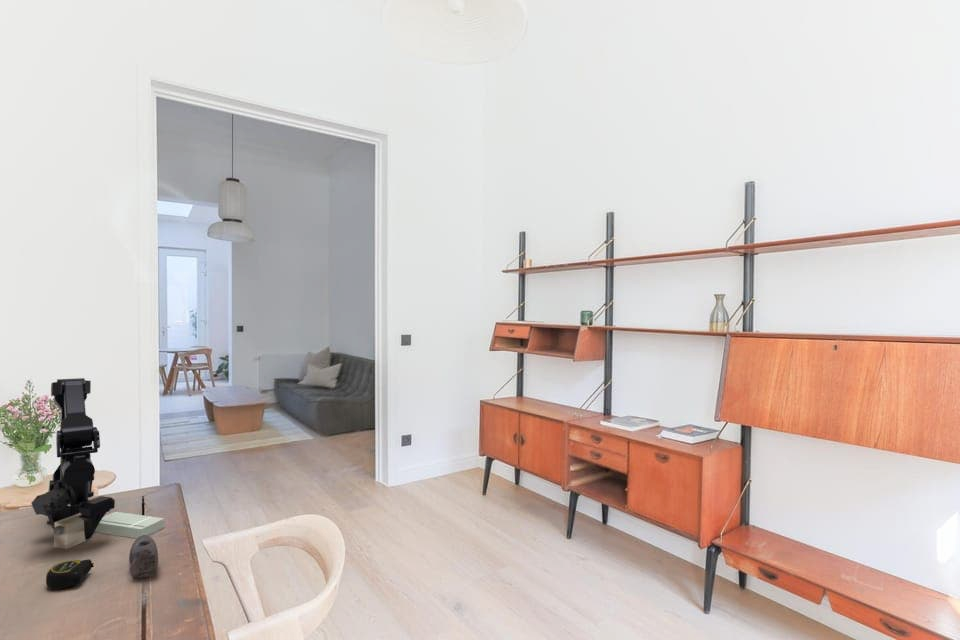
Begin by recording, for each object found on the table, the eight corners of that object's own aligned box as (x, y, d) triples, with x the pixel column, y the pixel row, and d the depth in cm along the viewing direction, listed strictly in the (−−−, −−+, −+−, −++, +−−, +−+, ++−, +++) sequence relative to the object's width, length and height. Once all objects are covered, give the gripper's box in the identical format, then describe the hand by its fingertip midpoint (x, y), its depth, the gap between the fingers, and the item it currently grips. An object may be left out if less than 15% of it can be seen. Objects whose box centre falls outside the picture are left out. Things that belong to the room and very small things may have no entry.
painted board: (90, 531, 127) (90, 521, 127) (115, 520, 134) (115, 511, 134) (140, 538, 124) (141, 528, 124) (164, 527, 130) (164, 518, 130)
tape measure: (78, 590, 101) (79, 572, 101) (38, 594, 99) (38, 576, 99) (93, 573, 107) (94, 556, 107) (56, 577, 105) (56, 560, 105)
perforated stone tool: (128, 558, 114) (129, 528, 114) (155, 552, 117) (156, 523, 117) (128, 587, 102) (129, 554, 102) (158, 580, 105) (159, 548, 105)
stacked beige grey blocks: (49, 548, 117) (50, 524, 117) (82, 534, 125) (83, 511, 125) (62, 550, 116) (63, 526, 116) (95, 536, 124) (96, 513, 124)
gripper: (9, 480, 115) (6, 546, 115) (71, 489, 111) (69, 557, 111) (58, 467, 126) (56, 527, 126) (117, 474, 122) (115, 536, 122)
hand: (73, 536), depth 121 cm, fingers open, 9 cm apart
